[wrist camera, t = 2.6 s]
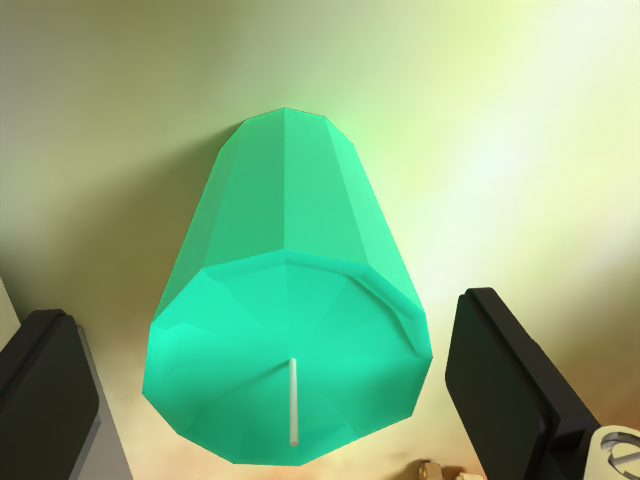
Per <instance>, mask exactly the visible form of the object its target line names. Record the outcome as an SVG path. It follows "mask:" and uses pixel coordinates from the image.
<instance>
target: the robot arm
mask: <svg viewBox="0 0 640 480" xmlns="http://www.w3.org/2000/svg"><path fill="white" fill-rule="evenodd" d="M445 381H446V386H447V389H448V391H449V394H450V396H451V398H452V400H453V403H454V405H455V407H456V409H457V411H458V414H459V416H460V418H461V420H462V423H463V425H464V427H465V429H466V432H467V434H468V436H469V438H470V441H471V443H472V445H473V447H474V449H475V452H476V454H477V456H478V458H479V461H480V463H481V465H482V467H483V470H484V472H485V474H486V476H487V479H488V480H640V431H637V430H634V429H631V428H628V427H625V426H616V425H610V426H604V427H601V425H600V424H599V423H598V421H597V420H596V419H595V417H594V416H593V415H592V414H591V412H590V411H589V410H588V408H587V407H586V406H585V405H584V403H583V402H582V401H581V399H580V398H579V397H578V395H577V394H576V393H575V392H574V390H573V389H572V388H571V386H570V385H569V384H568V383H567V381H566V380H565V379H564V377H563V376H562V375H561V374H560V372H559V371H558V370H557V368H556V367H555V366H554V364H553V363H552V362H551V361H550V359H549V358H548V357H547V355H546V354H545V353H544V352H543V350H542V349H541V348H540V346H539V345H538V344H537V343H536V342H535V341H534V340H533V339H531V337H530V336H529V335H528V333H527V332H526V331H525V330H524V328H523V327H522V326H521V324H520V323H519V322H518V320H517V319H516V318H515V316H514V315H513V314H512V313H511V311H510V310H509V309H508V307H507V306H506V305H505V303H504V302H503V301H502V300H501V298H500V297H499V296H498V294H497V293H496V292H495V290H494V289H493V288H490V287H487V288H469V289H467V290H466V292H465V294H463V295H460V296H459V299H458V304H457V309H456V315H455V321H454V327H453V332H452V338H451V344H450V349H449V355H448V361H447V367H446V372H445ZM98 409H99V395H98V392H97V389H96V386H95V383H94V380H93V377H92V374H91V370H90V367H89V364H88V361H87V358H86V355H85V352H84V349H83V345H82V342H81V339H80V336H79V333H78V330H77V327H76V324H75V320H74V318H73V317H72V316H71V315H66V313H65V312H64V311H63V310H61V309H55V310H36V311H33V312H32V313H31V314H30V315H29V316H28V318H27V319H26V320H25V321H24V323H23V324H22V325H21V326H20V328H19V329H18V330H17V332H16V333H15V334H14V335H13V337H12V338H11V339H10V340H9V342H8V343H7V344H6V345H5V347H4V348H3V349H2V350H1V352H0V480H68V479H69V477H70V475H71V472H72V470H73V468H74V466H75V463H76V461H77V459H78V456H79V454H80V452H81V450H82V447H83V445H84V443H85V440H86V438H87V436H88V433H89V431H90V429H91V427H92V424H93V422H94V420H95V417H96V415H97V413H98Z"/></svg>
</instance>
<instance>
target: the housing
mask: <svg viewBox="0 0 640 480" xmlns="http://www.w3.org/2000/svg"><path fill="white" fill-rule="evenodd" d="M76 327H77V330H78V333H79V336H80V339H81V342H82V345H83V349H84V352H85V355H86V358H87V361H88V364H89V367H90V370H91V374H92V377H93V380H94V383H95V386H96V389H97V392H98V395H99V409H98V413H97V415H96V417H95V420H94V422H93V424H92V427H91V429H90V431H89V433H88V436H87V438H86V440H85V443H84V445H83V447H82V450H81V452H80V454H79V456H78V459H77V461H76V463H75V466H74V468H73V470H72V472H71V475H70V477H69V479H68V480H133V478H132V475H131V472H130V469H129V466H128V463H127V460H126V457H125V454H124V451H123V448H122V445H121V442H120V439H119V436H118V433H117V430H116V427H115V425H114V422H113V419H112V416H111V413H110V410H109V407H108V404H107V401H106V398H105V395H104V392H103V389H102V386H101V383H100V380H99V377H98V374H97V371H96V368H95V365H94V362H93V359H92V357H91V354H90V351H89V348H88V345H87V342H86V339H85V336H84V333H83V330H82V327H81V326H76Z"/></svg>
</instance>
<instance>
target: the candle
mask: <svg viewBox="0 0 640 480" xmlns="http://www.w3.org/2000/svg"><path fill="white" fill-rule="evenodd" d="M432 358H433V356H432V350H431V344H430V338H429V332H428V327H427V321H426V315H425V311H424V309H423V307H422V304H421V302H420V300H419V297H418V295H417V293H416V290H415V288H414V286H413V283H412V281H411V279H410V276H409V274H408V272H407V269H406V267H405V265H404V262H403V260H402V258H401V255H400V253H399V251H398V248H397V246H396V244H395V241H394V239H393V237H392V234H391V232H390V230H389V227H388V225H387V223H386V220H385V218H384V216H383V213H382V211H381V209H380V206H379V204H378V202H377V199H376V197H375V195H374V192H373V190H372V187H371V185H370V183H369V180H368V178H367V176H366V173H365V171H364V169H363V166H362V164H361V162H360V159H359V157H358V155H357V152H356V150H355V148H354V145H353V143H351V142H350V141H349V140H348V139H347V138H346V137H345V136H344V135H343V134H342V133H341V132H340V131H339V130H338V129H337V128H336V127H335V126H334V125H333V124H332V123H331V122H330V121H328V120H327V119H326V118H325V117H323V116H319V115H315V114H310V113H306V112H302V111H297V110H293V109H289V108H282V109H278V110H275V111H272V112H269V113H266V114H262V115H259V116H256V117H253V118H250V119H246V120H245V121H244V122H243V123H242V124H241V125H240V127H239V128H238V129H237V130H236V131H235V132H234V134H233V135H232V136H231V137H230V138H229V139H228V140H227V142H226V143H225V144H224V145H223V146H222V147H221V148H220V150H219V153H218V155H217V158H216V160H215V163H214V165H213V168H212V170H211V173H210V175H209V178H208V181H207V183H206V186H205V188H204V191H203V193H202V196H201V198H200V201H199V203H198V206H197V208H196V211H195V213H194V216H193V218H192V221H191V223H190V226H189V229H188V231H187V234H186V236H185V239H184V241H183V244H182V246H181V249H180V251H179V254H178V256H177V259H176V261H175V264H174V266H173V269H172V271H171V274H170V277H169V279H168V282H167V284H166V287H165V289H164V292H163V294H162V297H161V299H160V302H159V304H158V307H157V309H156V312H155V314H154V317H153V319H152V322H151V325H150V331H149V339H148V348H147V356H146V364H145V372H144V381H143V389H142V394H143V395H144V396H145V397H146V399H147V400H148V401H149V402H150V403H151V404H152V405H153V407H154V408H155V409H156V410H157V411H158V412H159V413H160V415H161V416H162V417H163V418H164V419H165V420H166V421H167V422H168V424H169V425H170V426H171V427H172V428H173V429H174V430H175V432H176V433H177V434H179V435H180V436H182V437H184V438H186V439H188V440H190V441H192V442H194V443H196V444H197V445H199V446H201V447H203V448H205V449H207V450H209V451H211V452H212V453H214V454H216V455H218V456H220V457H222V458H224V459H226V460H228V461H229V462H231V463H233V464H254V465H281V466H301V465H303V464H305V463H307V462H309V461H311V460H314V459H316V458H318V457H320V456H322V455H324V454H327V453H329V452H331V451H333V450H335V449H337V448H340V447H342V446H344V445H346V444H348V443H350V442H353V441H355V440H357V439H359V438H361V437H364V436H366V435H368V434H371V433H373V432H375V431H378V430H380V429H382V428H385V427H387V426H389V425H392V424H394V423H396V422H399V421H401V420H403V419H406V418H408V417H410V416H412V413H413V410H414V408H415V405H416V402H417V399H418V397H419V394H420V391H421V389H422V386H423V383H424V380H425V378H426V375H427V372H428V369H429V367H430V364H431V361H432Z"/></svg>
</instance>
